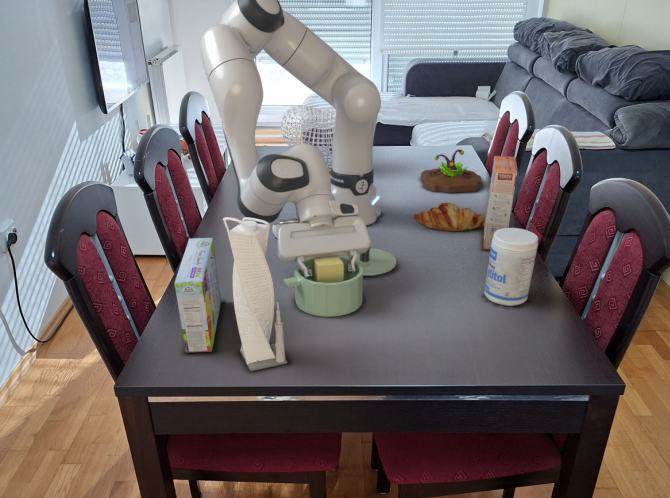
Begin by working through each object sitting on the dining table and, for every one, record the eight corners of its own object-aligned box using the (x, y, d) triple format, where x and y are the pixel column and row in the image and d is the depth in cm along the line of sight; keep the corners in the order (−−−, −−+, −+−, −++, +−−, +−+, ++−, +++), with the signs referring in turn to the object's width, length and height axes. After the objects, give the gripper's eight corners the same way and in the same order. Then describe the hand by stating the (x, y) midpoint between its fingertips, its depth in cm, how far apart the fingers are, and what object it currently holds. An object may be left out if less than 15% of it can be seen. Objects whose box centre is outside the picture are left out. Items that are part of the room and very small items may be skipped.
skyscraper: (242, 372, 118) (230, 226, 103) (231, 351, 124) (217, 210, 109) (287, 363, 121) (280, 219, 106) (273, 342, 127) (265, 204, 112)
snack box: (196, 302, 141) (187, 237, 133) (222, 301, 141) (215, 236, 134) (183, 354, 123) (172, 282, 115) (213, 353, 123) (204, 281, 116)
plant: (486, 193, 206) (490, 158, 200) (424, 192, 206) (427, 157, 201) (476, 175, 223) (479, 142, 218) (419, 174, 224) (421, 141, 218)
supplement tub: (475, 296, 145) (483, 234, 137) (500, 284, 150) (509, 223, 143) (511, 311, 139) (522, 247, 131) (536, 298, 144) (547, 236, 137)
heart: (280, 179, 217) (277, 110, 206) (285, 166, 231) (282, 100, 219) (364, 180, 217) (365, 111, 206) (363, 167, 231) (365, 101, 219)
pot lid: (321, 258, 162) (321, 241, 159) (376, 247, 168) (376, 230, 166) (351, 282, 150) (351, 264, 148) (408, 270, 156) (409, 252, 154)
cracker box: (506, 252, 166) (518, 171, 155) (482, 250, 167) (492, 169, 156) (505, 232, 178) (517, 156, 167) (483, 230, 179) (493, 154, 168)
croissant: (486, 235, 185) (488, 207, 184) (492, 231, 175) (494, 201, 174) (411, 231, 186) (413, 203, 185) (413, 227, 176) (415, 197, 175)
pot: (274, 296, 144) (272, 265, 140) (353, 279, 152) (354, 249, 148) (300, 325, 133) (299, 292, 129) (385, 305, 141) (386, 273, 137)
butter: (314, 296, 143) (313, 258, 138) (338, 293, 144) (338, 255, 140) (318, 304, 140) (318, 266, 135) (343, 301, 141) (343, 263, 136)
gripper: (272, 214, 136) (284, 276, 133) (365, 205, 141) (378, 264, 138) (269, 227, 142) (280, 286, 139) (358, 217, 147) (371, 274, 144)
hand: (330, 275), depth 138 cm, fingers open, 8 cm apart
